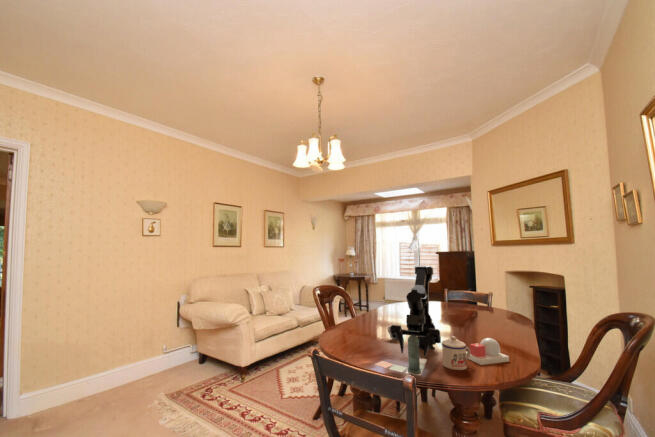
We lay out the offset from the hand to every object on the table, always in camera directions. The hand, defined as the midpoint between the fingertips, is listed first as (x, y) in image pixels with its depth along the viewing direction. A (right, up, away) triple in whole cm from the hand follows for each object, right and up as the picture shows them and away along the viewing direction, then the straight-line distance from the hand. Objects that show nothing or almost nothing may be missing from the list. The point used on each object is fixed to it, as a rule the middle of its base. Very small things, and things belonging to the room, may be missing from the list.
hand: (413, 354), depth 112 cm
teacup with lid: (+20, -8, +6) cm, 22 cm away
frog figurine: (+3, -12, +43) cm, 45 cm away
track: (0, -8, +5) cm, 9 cm away
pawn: (+1, -7, +1) cm, 7 cm away
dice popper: (+35, -9, +15) cm, 39 cm away
